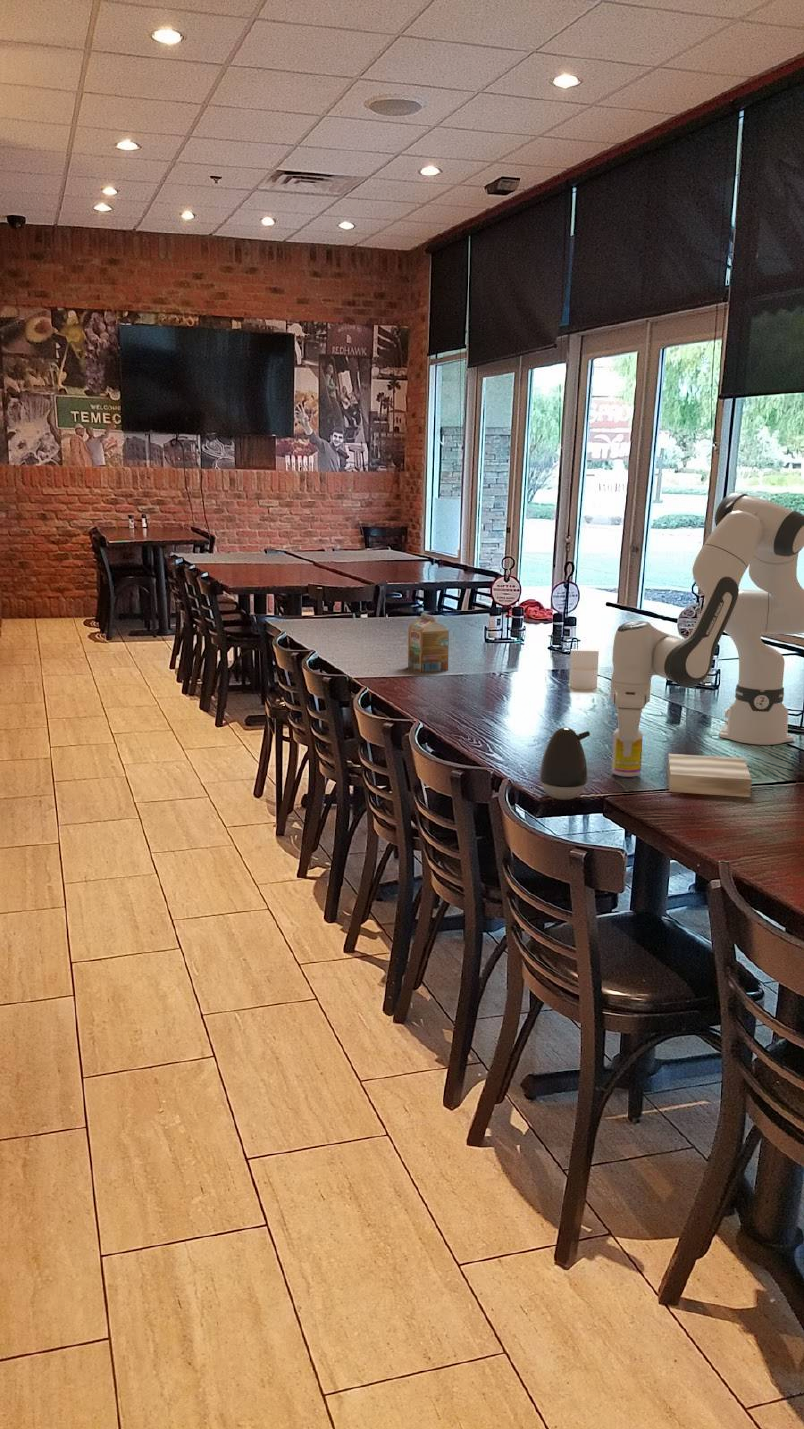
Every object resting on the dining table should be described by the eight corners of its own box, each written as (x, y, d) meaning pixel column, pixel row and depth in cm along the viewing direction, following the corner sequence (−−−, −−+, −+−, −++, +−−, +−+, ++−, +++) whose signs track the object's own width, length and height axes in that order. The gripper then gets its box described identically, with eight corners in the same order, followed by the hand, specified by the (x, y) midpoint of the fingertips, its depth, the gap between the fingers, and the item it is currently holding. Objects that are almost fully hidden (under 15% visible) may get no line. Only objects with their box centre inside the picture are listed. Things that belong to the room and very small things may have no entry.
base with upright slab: (595, 684, 358) (597, 648, 355) (598, 689, 349) (599, 652, 347) (568, 683, 359) (569, 647, 356) (569, 688, 350) (571, 652, 347)
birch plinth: (667, 770, 256) (668, 753, 255) (742, 774, 252) (743, 758, 251) (669, 791, 238) (670, 774, 238) (750, 797, 235) (751, 779, 234)
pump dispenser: (592, 803, 230) (596, 733, 226) (544, 803, 229) (547, 733, 226) (581, 789, 240) (584, 722, 236) (534, 789, 239) (537, 722, 236)
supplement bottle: (644, 777, 248) (648, 722, 245) (617, 778, 247) (620, 723, 244) (634, 768, 255) (637, 715, 252) (607, 770, 254) (609, 716, 251)
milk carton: (408, 667, 386) (408, 613, 382) (434, 665, 390) (435, 612, 386) (421, 672, 376) (421, 617, 372) (448, 670, 381) (449, 616, 377)
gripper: (617, 683, 257) (614, 740, 260) (615, 701, 238) (612, 762, 241) (644, 684, 256) (641, 741, 259) (644, 703, 237) (641, 764, 240)
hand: (627, 751), depth 250 cm, fingers closed on supplement bottle, 7 cm apart
